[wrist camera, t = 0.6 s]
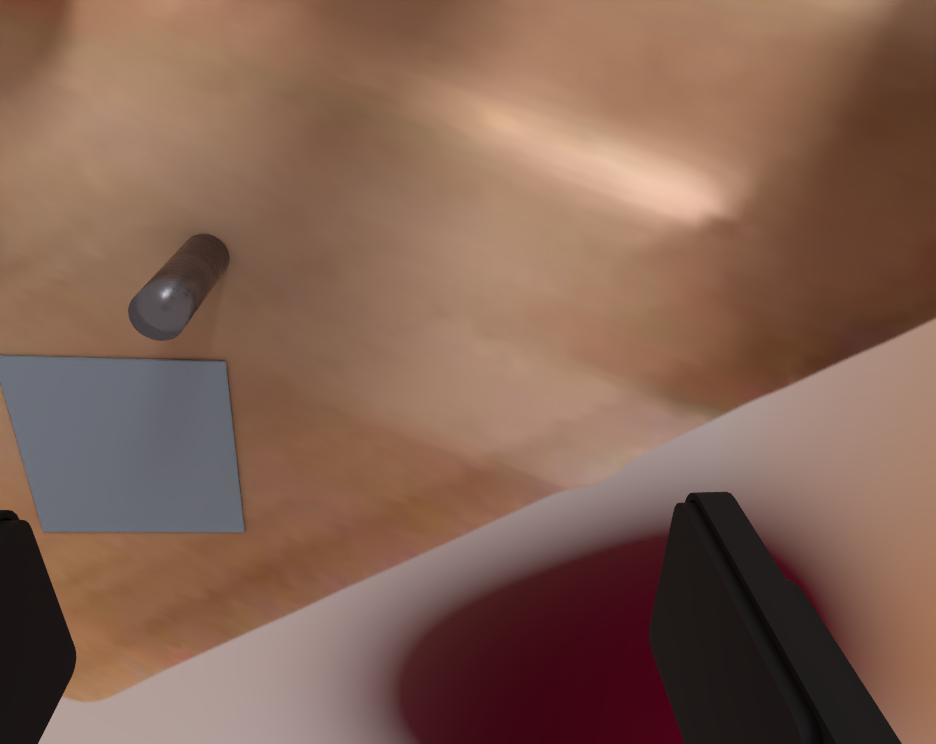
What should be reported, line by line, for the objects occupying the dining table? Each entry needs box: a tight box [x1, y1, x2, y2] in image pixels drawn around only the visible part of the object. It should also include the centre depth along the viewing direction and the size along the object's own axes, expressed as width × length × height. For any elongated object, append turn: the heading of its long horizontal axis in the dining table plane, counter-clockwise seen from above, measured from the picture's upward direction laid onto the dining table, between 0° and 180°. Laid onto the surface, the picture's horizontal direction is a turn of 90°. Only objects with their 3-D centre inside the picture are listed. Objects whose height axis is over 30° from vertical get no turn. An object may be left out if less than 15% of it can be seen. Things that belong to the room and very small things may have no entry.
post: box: [128, 234, 229, 340], centre depth 37 cm, size 3×3×9 cm
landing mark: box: [0, 355, 245, 533], centre depth 47 cm, size 14×14×1 cm
